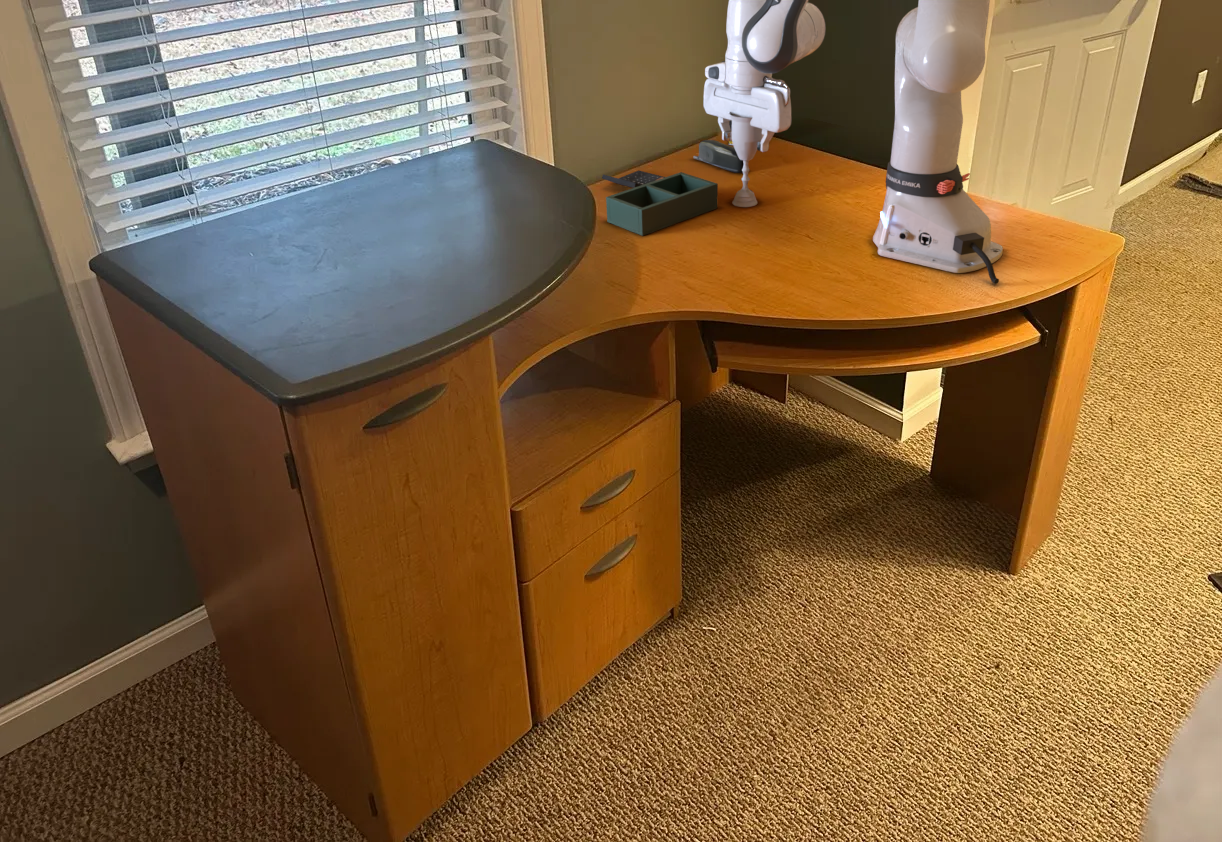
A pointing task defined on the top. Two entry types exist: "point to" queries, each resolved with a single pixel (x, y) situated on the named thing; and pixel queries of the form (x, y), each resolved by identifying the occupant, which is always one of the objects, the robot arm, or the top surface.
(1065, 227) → the top surface
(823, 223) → the top surface
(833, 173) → the top surface
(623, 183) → the calculator
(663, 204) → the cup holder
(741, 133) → the chalice
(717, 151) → the stapler
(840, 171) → the top surface
